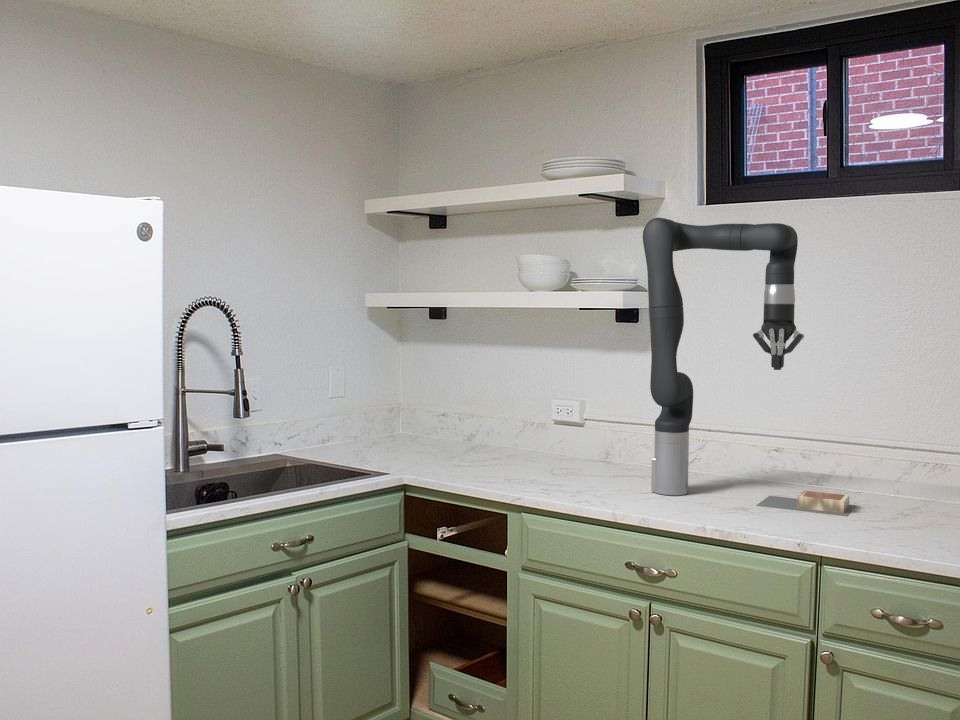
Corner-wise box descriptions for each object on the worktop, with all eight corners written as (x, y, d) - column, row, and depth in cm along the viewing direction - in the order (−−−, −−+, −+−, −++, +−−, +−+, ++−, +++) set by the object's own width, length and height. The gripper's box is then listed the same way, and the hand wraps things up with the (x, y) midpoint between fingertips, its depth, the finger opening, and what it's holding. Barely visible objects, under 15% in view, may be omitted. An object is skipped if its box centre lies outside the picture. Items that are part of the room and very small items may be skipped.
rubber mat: (755, 507, 232) (755, 505, 232) (769, 497, 244) (769, 495, 244) (847, 518, 221) (847, 516, 220) (856, 507, 232) (856, 505, 232)
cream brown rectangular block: (797, 495, 229) (843, 500, 224) (804, 490, 236) (849, 495, 230) (797, 507, 229) (843, 513, 224) (804, 501, 236) (849, 506, 231)
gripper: (749, 302, 233) (747, 369, 234) (802, 302, 226) (800, 371, 227) (756, 302, 240) (755, 367, 241) (809, 302, 233) (807, 369, 234)
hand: (777, 369), depth 234 cm, fingers closed
